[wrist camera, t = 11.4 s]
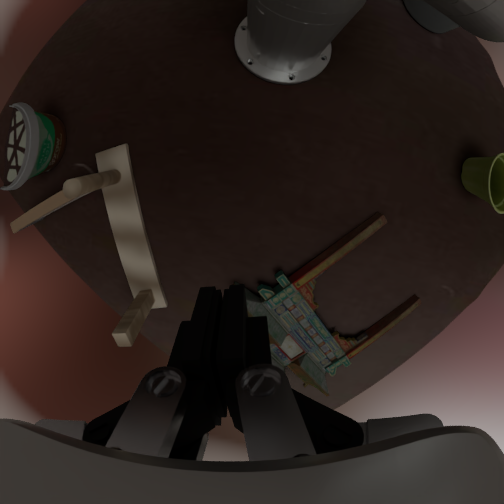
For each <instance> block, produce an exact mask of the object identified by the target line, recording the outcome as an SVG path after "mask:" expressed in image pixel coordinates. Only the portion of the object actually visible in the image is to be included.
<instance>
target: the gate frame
mask: <svg viewBox="0 0 504 504" xmlns="http://www.w3.org/2000/svg"><path fill="white" fill-rule="evenodd" d="M95 155H96V161H97V166H98V172H99V173H95V174H90V175H86V176H82V177H77V178H73V179H69V180H67V181H66V182H65V183H64V185H63V193H64V195H65V197H66V198H68V199H72V198H75V197H78V196H81V195H83V194H86V193H89V192H92V191H95V190H98V189H101V188H102V191H103V196H104V200H105V204H106V208H107V212H108V216H109V220H110V224H111V228H112V231H113V235H114V239H115V242H116V245H117V249H118V252H119V255H120V259H121V262H122V265H123V268H124V271H125V274H126V277H127V280H128V283H129V286H130V288H131V291H132V294H133V297H134V300H133V302H132V303H131V305H130V306H129V308H128V309H127V311H126V312H125V314H124V316H123V317H122V319H121V320H120V322H119V324H118V325H117V327H116V328H115V330H114V331H113V333H112V335H113V337H114V339H115V341H116V343H117V345H118V346H119V347H120V346H132V344H133V343H134V341H135V339H136V337H137V335H138V333H139V331H140V329H141V327H142V325H143V323H144V321H145V319H146V317H147V315H148V314H149V312H150V310H151V308H162V307H167V305H168V303H167V300H166V297H165V294H164V291H163V288H162V285H161V281H160V278H159V275H158V271H157V268H156V265H155V261H154V258H153V254H152V251H151V247H150V243H149V240H148V236H147V232H146V228H145V224H144V220H143V216H142V212H141V208H140V203H139V199H138V194H137V190H136V185H135V180H134V175H133V170H132V165H131V159H130V154H129V148H128V144H123V145H120V146H117V147H114V148H111V149H108V150H105V151H102V152H100V153H97V154H95Z"/></svg>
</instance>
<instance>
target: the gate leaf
mask: <svg viewBox="0 0 504 504" xmlns="http://www.w3.org/2000/svg"><path fill="white" fill-rule="evenodd" d="M89 193H90V192H89ZM86 194H88V193H86ZM86 194H83V195H81V196H78V197H75V198H72V199H68V198H66V197H65V195H64V193H63V190H62V191H60V192H58V193H57V194H55V195H53V196H52V197H50V198H48V199H47V200H45V201H43V202H42V203H40V204H39V205H37V206H35V207H34V208H32V209H31V210H29V211H28V212H26V213H25V214H23V215H22V216H20V217H19V218H17V219H16V220H15V221H13V222H12V223H10V225H11V228H12V230H13V233H16V232H18V231H20V230H22V229H24V228H26V227H28V226H30V225H32V224H34V223H36V222H38V221H40V220H42V219H44V218H45V216H47V215H48V214H50V213H52V212H54V211H56V210H57V209H59V208H61V207H63V206H65V205H67V204H69V203H70V202H72V201H74V200H76V199H78V198H80V197H82V196H84V195H86Z"/></svg>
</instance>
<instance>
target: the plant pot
mask: <svg viewBox="0 0 504 504" xmlns="http://www.w3.org/2000/svg"><path fill="white" fill-rule="evenodd" d="M461 179H462V183H463V186H464V187H465V189H466V190H467V191H469V192H471V193H472V194H474V195H476V196H478V197H480V198H482V199H483V200H485V201H487V202H488V203H489V204H490V205H491V206H493V208H494V209H495V210H496V211H497V212H498V213H501V214H504V153H500V154H498V155H496V156H493V157H474V158H468V159H466V160H465V162H464V163H463V166H462V174H461Z"/></svg>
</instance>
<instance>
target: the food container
mask: <svg viewBox="0 0 504 504" xmlns="http://www.w3.org/2000/svg"><path fill="white" fill-rule="evenodd" d="M10 107H14V108H13V112H12V119H11V124H10V129H9V133H8V137H7V141H6V146H5V176H4V186H3V187H1V188H0V189H2V190H14V189H17V188H19V187H20V186H22V185H23V184H24V183H25V181H26V180H27V179H29V178H31V177H34V176H36V175H39V174H41V173H44V172H47V171H49V170H51V169H53V168H54V167H55V166H56V165H57V164H58V163H59V161H60V160H61V158H62V156H63V153H64V150H65V146H66V131H65V127H64V125H63V123H62V121H61V120H60V119H59V118H58V117H56V116H54V115H51V114H47V113H43V112H39V111H35V110H33V109H32V108H31V107H30V106H29V105H28V104H25V103H15V104H13V106H10Z"/></svg>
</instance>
